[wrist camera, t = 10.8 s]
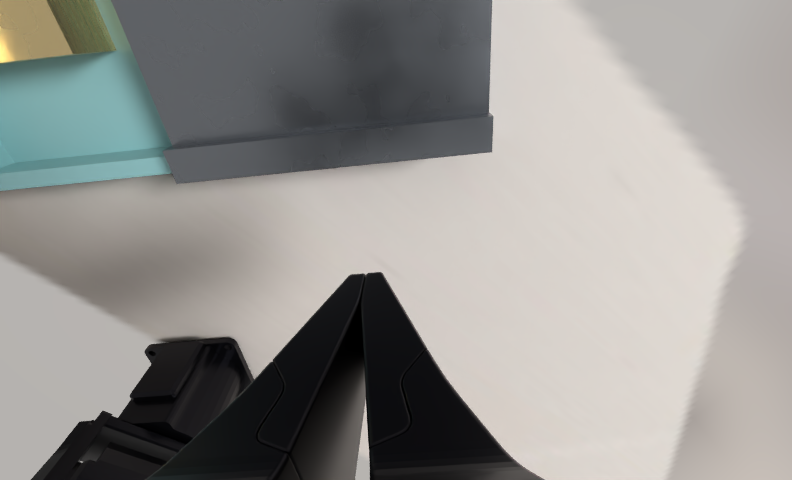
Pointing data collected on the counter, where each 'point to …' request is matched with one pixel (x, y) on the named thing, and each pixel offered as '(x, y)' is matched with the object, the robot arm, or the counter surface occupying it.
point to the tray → (79, 118)
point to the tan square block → (51, 29)
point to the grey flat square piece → (312, 81)
